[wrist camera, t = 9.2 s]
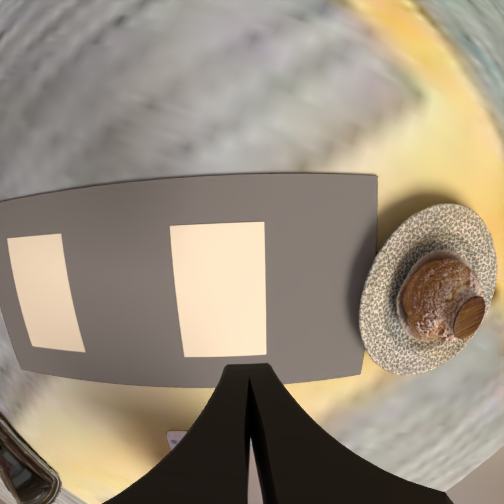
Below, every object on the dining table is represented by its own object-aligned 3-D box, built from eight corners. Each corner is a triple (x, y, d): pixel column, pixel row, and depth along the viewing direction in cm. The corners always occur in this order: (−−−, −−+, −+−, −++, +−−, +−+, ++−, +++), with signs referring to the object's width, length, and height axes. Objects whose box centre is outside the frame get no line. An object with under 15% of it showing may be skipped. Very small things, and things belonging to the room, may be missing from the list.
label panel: (359, 372, 19) (360, 374, 19) (23, 367, 18) (21, 369, 17) (375, 176, 16) (377, 175, 16) (-15, 205, 15) (-18, 205, 14)
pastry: (430, 162, 16) (479, 161, 11) (504, 270, 18) (543, 288, 13) (314, 316, 17) (338, 357, 13) (417, 388, 20) (445, 423, 15)
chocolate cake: (-33, 405, 18) (-18, 497, 13) (-20, 412, 16) (0, 518, 11) (30, 416, 26) (43, 497, 21) (53, 421, 24) (69, 513, 19)
